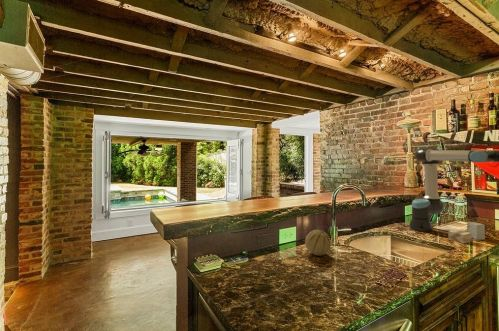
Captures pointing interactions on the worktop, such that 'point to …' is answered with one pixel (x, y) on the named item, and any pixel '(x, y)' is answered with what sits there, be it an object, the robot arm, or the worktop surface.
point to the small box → (476, 230)
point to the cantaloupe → (317, 242)
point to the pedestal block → (460, 236)
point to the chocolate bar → (391, 276)
